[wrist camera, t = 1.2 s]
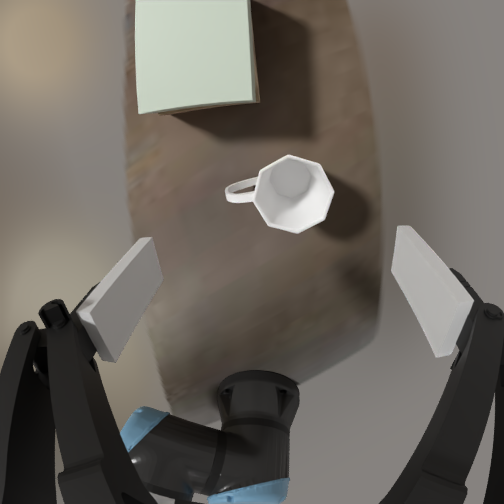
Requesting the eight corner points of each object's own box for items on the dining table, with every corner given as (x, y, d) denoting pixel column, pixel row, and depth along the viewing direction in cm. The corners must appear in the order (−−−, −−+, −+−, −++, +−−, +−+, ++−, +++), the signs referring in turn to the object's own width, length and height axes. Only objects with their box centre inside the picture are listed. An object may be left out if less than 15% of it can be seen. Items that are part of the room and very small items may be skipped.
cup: (323, 202, 32) (336, 230, 25) (237, 211, 33) (225, 241, 26) (317, 141, 29) (331, 150, 21) (226, 152, 30) (209, 165, 23)
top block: (255, 102, 24) (252, 100, 21) (156, 113, 25) (138, 114, 22) (249, -13, 18) (245, -30, 15) (152, 3, 19) (136, -8, 16)
